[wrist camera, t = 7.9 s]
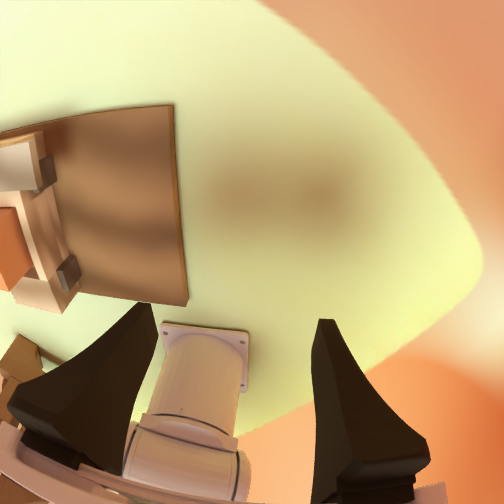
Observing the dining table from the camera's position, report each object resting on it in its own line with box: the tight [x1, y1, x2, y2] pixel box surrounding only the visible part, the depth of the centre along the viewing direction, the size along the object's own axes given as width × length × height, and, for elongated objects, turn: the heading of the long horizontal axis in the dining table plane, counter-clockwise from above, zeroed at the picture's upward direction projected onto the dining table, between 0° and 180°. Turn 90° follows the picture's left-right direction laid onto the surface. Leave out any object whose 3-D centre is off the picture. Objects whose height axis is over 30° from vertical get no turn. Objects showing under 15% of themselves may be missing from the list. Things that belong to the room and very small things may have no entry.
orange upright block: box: [0, 207, 34, 292], centre depth 18 cm, size 5×3×6 cm, turn 179°
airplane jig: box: [0, 105, 189, 314], centre depth 19 cm, size 15×20×5 cm
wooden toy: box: [0, 334, 49, 504], centre depth 25 cm, size 16×7×25 cm, turn 67°
